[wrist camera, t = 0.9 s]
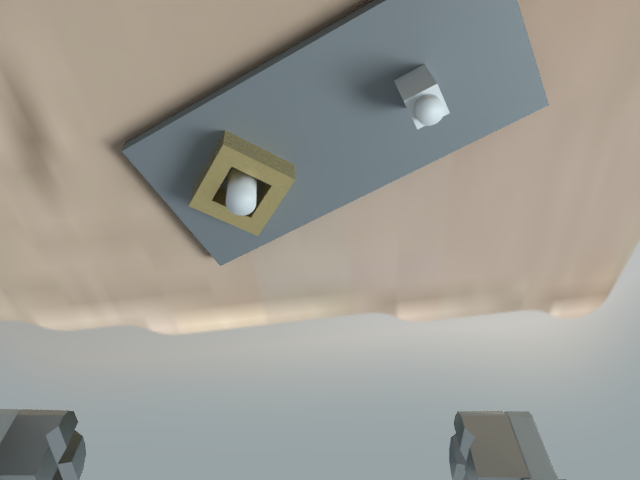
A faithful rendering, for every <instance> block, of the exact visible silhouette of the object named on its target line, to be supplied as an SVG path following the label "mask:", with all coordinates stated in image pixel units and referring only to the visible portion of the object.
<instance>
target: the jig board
mask: <svg viewBox="0 0 640 480" xmlns="http://www.w3.org/2000/svg"><path fill="white" fill-rule="evenodd" d="M548 105H549V104H548V101H547V98H546V94H545V91H544V88H543V84H542V81H541V78H540V74H539V71H538V68H537V64H536V61H535V58H534V54H533V51H532V48H531V45H530V41H529V38H528V35H527V31H526V28H525V25H524V21H523V18H522V15H521V11H520V8H519V5H518V1H517V0H373V1H371V2H370V3H368V4H366V5H364V6H363V7H361V8H359V9H357V10H356V11H354V12H352V13H351V14H349V15H347V16H345V17H344V18H342V19H340V20H338V21H337V22H335V23H333V24H331V25H330V26H328V27H326V28H324V29H323V30H321V31H319V32H317V33H316V34H314V35H312V36H311V37H309V38H307V39H305V40H304V41H302V42H300V43H298V44H297V45H295V46H293V47H291V48H290V49H288V50H286V51H284V52H283V53H281V54H279V55H277V56H276V57H274V58H272V59H271V60H269V61H267V62H265V63H264V64H262V65H260V66H258V67H257V68H255V69H253V70H251V71H250V72H248V73H246V74H244V75H243V76H241V77H239V78H237V79H236V80H234V81H232V82H231V83H229V84H227V85H225V86H224V87H222V88H220V89H218V90H217V91H215V92H213V93H211V94H210V95H208V96H206V97H204V98H203V99H201V100H199V101H197V102H196V103H194V104H192V105H191V106H189V107H187V108H185V109H184V110H182V111H180V112H178V113H177V114H175V115H173V116H171V117H170V118H168V119H166V120H164V121H163V122H161V123H159V124H157V125H156V126H154V127H152V128H151V129H149V130H147V131H145V132H144V133H142V134H140V135H138V136H137V137H135V138H133V139H131V140H130V141H128V142H126V143H125V145H124V147H123V149H122V152H123V154H124V155H125V156H126V157H127V158H128V159H129V161H130V162H131V163H132V164H133V165H134V166H135V168H136V169H137V170H138V171H139V172H140V173H141V174H142V176H143V177H144V178H145V179H146V180H147V181H148V183H149V184H150V185H151V186H152V187H153V188H154V190H155V191H156V192H157V193H158V194H159V195H160V197H161V198H162V199H163V200H164V201H165V202H166V203H167V205H168V206H169V207H170V208H171V209H172V210H173V212H174V213H175V214H176V215H177V216H178V217H179V219H180V220H181V221H182V222H183V223H184V224H185V225H186V227H187V228H188V229H189V230H190V231H191V232H192V234H193V235H194V236H195V237H196V238H197V239H198V241H199V242H200V243H201V244H202V245H203V246H204V247H205V249H206V250H207V251H208V252H209V253H210V254H211V256H212V257H213V258H214V259H215V260H216V261H217V263H218V264H219V265H220V266H221V265H223V264H225V263H227V262H229V261H231V260H233V259H235V258H237V257H239V256H242V255H244V254H246V253H248V252H250V251H252V250H254V249H256V248H258V247H260V246H262V245H264V244H266V243H268V242H270V241H272V240H274V239H276V238H278V237H280V236H282V235H284V234H286V233H288V232H291V231H293V230H295V229H297V228H299V227H301V226H303V225H305V224H307V223H309V222H311V221H313V220H315V219H317V218H319V217H321V216H323V215H325V214H327V213H329V212H331V211H333V210H335V209H337V208H339V207H342V206H344V205H346V204H348V203H350V202H352V201H354V200H356V199H358V198H360V197H362V196H364V195H366V194H368V193H370V192H372V191H374V190H376V189H378V188H380V187H382V186H384V185H386V184H388V183H390V182H393V181H395V180H397V179H399V178H401V177H403V176H405V175H407V174H409V173H411V172H413V171H415V170H417V169H419V168H421V167H423V166H425V165H427V164H429V163H431V162H433V161H435V160H437V159H439V158H441V157H444V156H446V155H448V154H450V153H452V152H454V151H456V150H458V149H460V148H462V147H464V146H466V145H468V144H470V143H472V142H474V141H476V140H478V139H480V138H482V137H484V136H486V135H488V134H490V133H492V132H495V131H497V130H499V129H501V128H503V127H505V126H507V125H509V124H511V123H513V122H515V121H517V120H519V119H521V118H523V117H525V116H527V115H529V114H531V113H533V112H535V111H537V110H539V109H541V108H543V107H546V106H548ZM225 130H226V131H228V132H230V133H232V134H234V135H236V136H238V137H240V138H242V139H244V140H246V141H248V142H250V143H252V144H254V145H256V146H258V147H260V148H262V149H264V150H266V151H268V152H270V153H272V154H274V155H276V156H278V157H280V158H282V159H284V160H286V161H288V162H290V163H292V164H294V169H295V181H294V183H293V184H292V186H291V187H290V189H289V190H288V192H287V193H286V195H285V196H284V198H283V199H282V201H281V202H280V204H279V205H278V207H277V208H276V210H275V211H274V213H273V214H272V216H271V217H270V219H269V220H268V222H267V223H266V225H265V226H264V228H263V229H262V231H261V232H260V234H259V235H258V236H256V235H254V234H252V233H249V232H247V231H245V230H242V229H240V228H238V227H236V226H233V225H231V224H229V223H226V222H224V221H222V220H219V219H217V218H215V217H213V216H210V215H208V214H206V213H203V212H201V211H199V210H196V209H194V208H192V207H189V201H190V196H191V191H192V189H193V187H194V185H195V183H196V181H197V180H198V178H199V176H200V174H201V173H202V171H203V169H204V167H205V165H206V164H207V162H208V160H209V158H210V156H211V155H212V153H213V151H214V149H215V147H216V146H217V144H218V142H219V140H220V138H221V137H222V135H223V133H224V131H225ZM263 183H264V182H263V181H261V180H259V179H257V178H255V177H253V176H250V175H248V174H246V173H244V172H242V171H240V170H238V169H236V168H234V167H231V168H230V170H229V172H228V173H227V175H226V177H225V179H224V180H223V182H222V184H221V185H220V188H222V189H225V190H227V194H226V207H227V209H228V210H229V211H230V212H231V213H233V214H235V215H239V216H244V215H248V214H250V213H251V212H253V210H254V209H255V207H256V194H257V192H258V191H259V189H260V188H261V186H262V185H263Z"/></svg>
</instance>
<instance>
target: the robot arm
mask: <svg viewBox="0 0 640 480" xmlns="http://www.w3.org/2000/svg"><path fill="white" fill-rule="evenodd" d="M77 423H78V421H77V418H76V416H75V413H74V411H59V410H24V409H23V410H21V409H0V480H79V479H80V476H81V473H82V471H83V467H84V462H85V455H86V449H85V442H84V439H83V436H82V435H80V434H79V433H78V432H77V431H75V428H76V425H77ZM454 427H455V431H456V434H455V435H454V436H452V437H451V441H450V448H449V462H450V469H451V475H452V480H566V479H558V477H557V475H556V472H555V470H554V467H553V465H552V463H551V460H550V458H549V455H548V453H547V450H546V448H545V446H544V443H543V440H542V438H541V436H540V433H539V431H538V428H537V426H536V423H535V421H534V419H533V416H532V415H531V414H530V413H529V412H503V411H472V412H471V411H470V412H469V411H465V412H457V414H456V415H455V420H454Z"/></svg>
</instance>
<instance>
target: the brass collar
mask: <svg viewBox="0 0 640 480" xmlns="http://www.w3.org/2000/svg"><path fill="white" fill-rule="evenodd" d="M231 167H234V168H236V169H238V170H240V171H242V172H244V173H246V174H248V175H250V176H253V177H255V178H257V179H259V180H261V181H263V182H264V183H263V185H262V186H261V188H260V189H259V191H258V192H257V194H256V207H255V209H254V210H253V212H251V213H250V214H248V215H244V216H239V215H235V214H233V213H231V212H230V211H229V210H228V209H227V207H226V194H227V190H225V189H222V188H220V185H221V184H222V182H223V180H224V179H225V177H226V175H227V173H228V172H229V170H230V168H231ZM294 181H295V169H294V164H292V163H290V162H288V161H286V160H284V159H282V158H280V157H278V156H276V155H274V154H272V153H270V152H268V151H266V150H264V149H262V148H260V147H258V146H256V145H254V144H252V143H250V142H248V141H246V140H244V139H242V138H240V137H238V136H236V135H234V134H232V133H230V132H228V131H226V130H225V131H224V133H223V135H222V137H221V138H220V140H219V142H218V144H217V146H216V147H215V149H214V151H213V153H212V155H211V156H210V158H209V160H208V162H207V164H206V165H205V167H204V169H203V171H202V173H201V174H200V176H199V178H198V180H197V181H196V183H195V185H194V187H193V189H192V191H191V196H190V201H189V207H192V208H194V209H196V210H199V211H201V212H203V213H206V214H208V215H210V216H213V217H215V218H217V219H219V220H222V221H224V222H226V223H229V224H231V225H233V226H236V227H238V228H240V229H242V230H245V231H247V232H249V233H252V234H254V235H256V236H258V235H259V234H260V232H261V231H262V229H263V228H264V226H265V225H266V223H267V222H268V220H269V219H270V217H271V216H272V214H273V213H274V211H275V210H276V208H277V207H278V205H279V204H280V202H281V201H282V199H283V198H284V196H285V195H286V193H287V192H288V190H289V189H290V187H291V186H292V184H293V183H294Z"/></svg>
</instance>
